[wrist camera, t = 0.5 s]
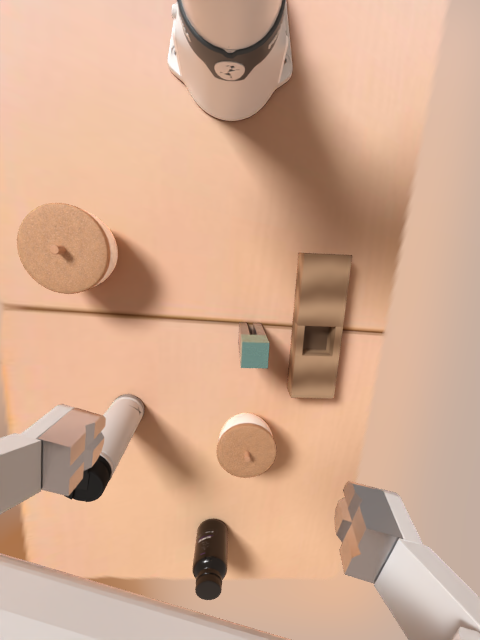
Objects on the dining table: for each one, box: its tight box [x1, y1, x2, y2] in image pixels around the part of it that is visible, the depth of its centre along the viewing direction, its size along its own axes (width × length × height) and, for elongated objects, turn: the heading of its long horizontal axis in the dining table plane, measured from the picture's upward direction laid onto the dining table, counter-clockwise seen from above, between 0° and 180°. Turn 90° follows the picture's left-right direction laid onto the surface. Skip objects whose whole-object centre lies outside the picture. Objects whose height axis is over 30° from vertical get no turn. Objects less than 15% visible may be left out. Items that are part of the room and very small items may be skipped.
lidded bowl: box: [17, 203, 118, 294], centre depth 45 cm, size 13×13×11 cm
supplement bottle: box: [193, 519, 228, 600], centre depth 59 cm, size 7×7×12 cm
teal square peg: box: [238, 322, 269, 368], centre depth 49 cm, size 4×4×12 cm
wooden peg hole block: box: [287, 253, 352, 398], centre depth 53 cm, size 26×8×4 cm, turn 178°
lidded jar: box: [217, 413, 277, 478], centre depth 55 cm, size 11×11×9 cm
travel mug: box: [64, 394, 145, 502], centre depth 48 cm, size 6×7×20 cm
